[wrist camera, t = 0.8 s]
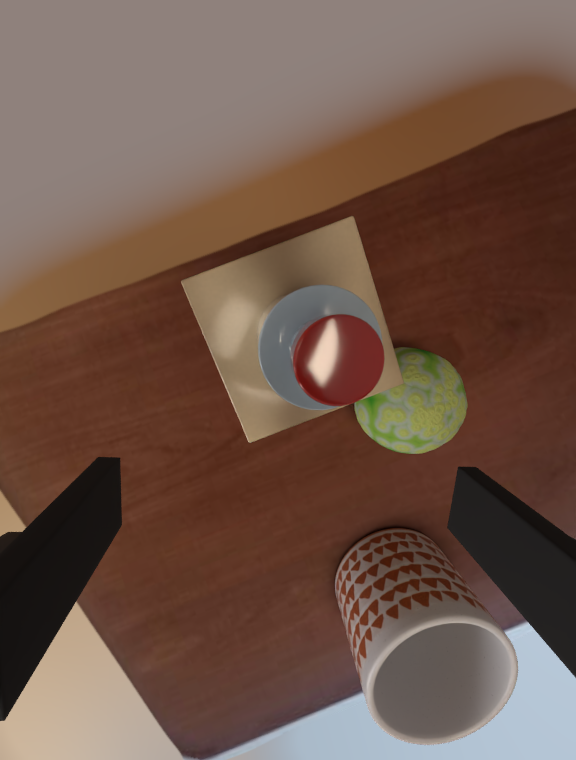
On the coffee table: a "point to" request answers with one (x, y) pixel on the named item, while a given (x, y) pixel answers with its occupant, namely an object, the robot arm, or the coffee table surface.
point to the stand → (251, 297)
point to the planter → (421, 640)
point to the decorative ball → (416, 405)
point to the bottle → (320, 347)
